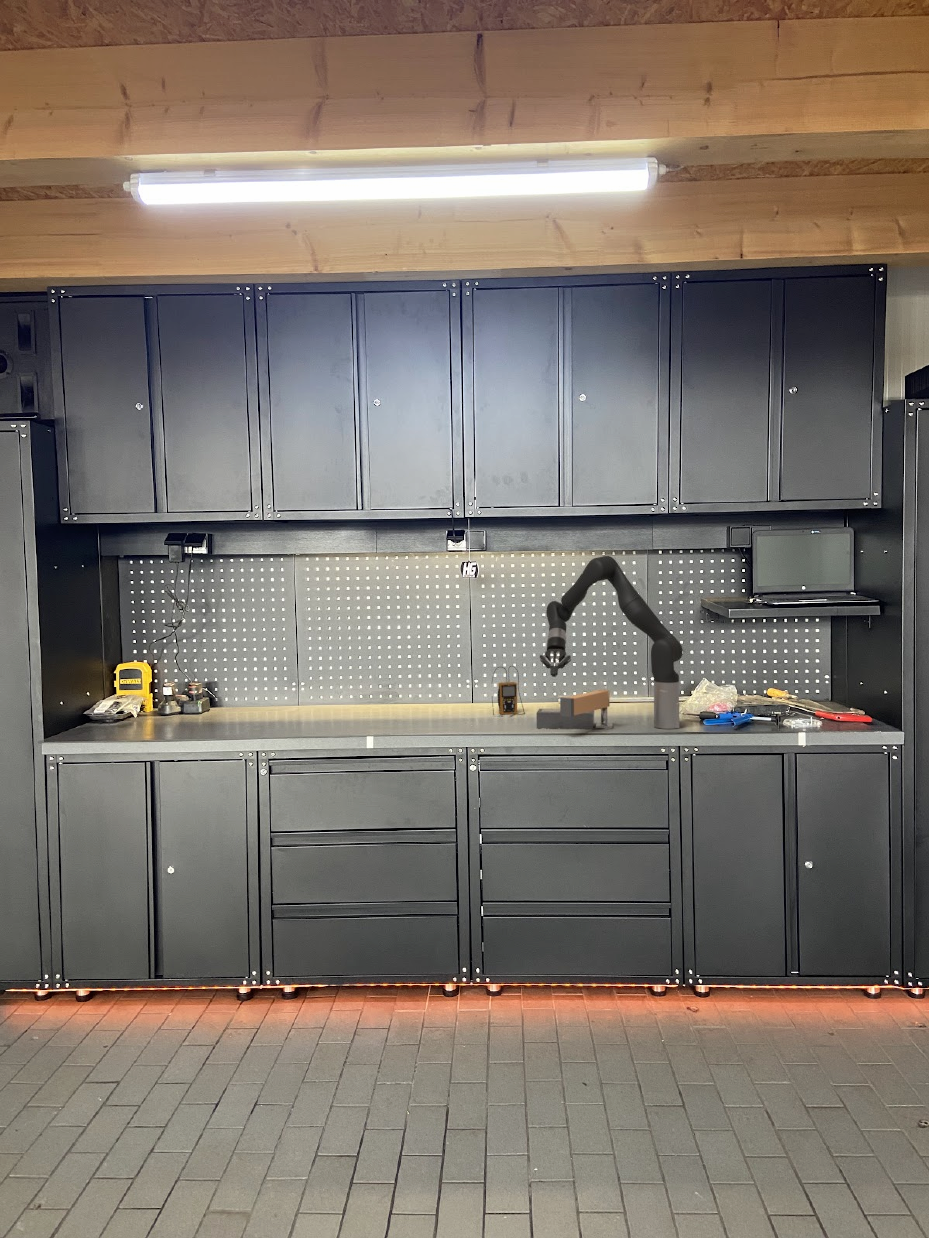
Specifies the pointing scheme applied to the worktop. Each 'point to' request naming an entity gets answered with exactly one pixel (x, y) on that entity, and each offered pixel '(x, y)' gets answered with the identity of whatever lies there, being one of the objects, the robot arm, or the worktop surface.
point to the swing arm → (584, 703)
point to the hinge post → (604, 720)
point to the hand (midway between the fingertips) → (553, 675)
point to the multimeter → (507, 696)
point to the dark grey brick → (564, 720)
